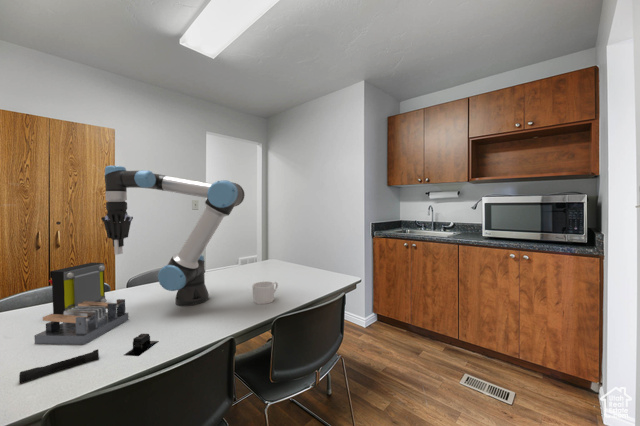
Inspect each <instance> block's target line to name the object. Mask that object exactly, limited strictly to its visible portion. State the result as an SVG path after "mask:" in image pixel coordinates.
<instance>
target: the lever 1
mask: <svg viewBox="0 0 640 426" xmlns="http://www.w3.org/2000/svg"><path fill="white" fill-rule="evenodd" d="M76 317H86V316H74V315H61V314H53V313H50V314H47V315H45V316H43V317H42V321H45V322H51V321H54V322H60V323H63V322H67V323H76ZM87 318H88V317H86V319H87Z"/></svg>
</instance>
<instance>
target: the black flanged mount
mask: <svg viewBox="0 0 640 426" xmlns="http://www.w3.org/2000/svg"><path fill="white" fill-rule="evenodd" d="M159 342H160V341H159V340H151V335H150V333H140V334H138V336H136V337H134V338H133V341H132V348H131V349H130V350H129V351H127V352H126V353H125V354H123V356H128V357H129V356H130V357H139V356H141V355H143V354H144V353H145V352H147V351H148V350H150V349H151V348H153V346H155V345H157V344H158V343H159Z"/></svg>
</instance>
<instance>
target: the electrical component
mask: <svg viewBox="0 0 640 426" xmlns="http://www.w3.org/2000/svg"><path fill="white" fill-rule="evenodd" d="M105 269H106V266H105V264H104V262H87V263H84V264H82V263H81V264H78V265H73V266H69V267H64V268H60V269H59V268H58V269H55V270H50V271H49V277H50V279H49V280H48V282H49V283H50V284H51V288H52V290H51V291H52V311H53V313H52V314H61V315H64V311H68V309H71V308H75V307H76V306H78V304H79V303H81V302H84V301H91V302H105V303H107V299H106V296H105V295H106V294H105Z"/></svg>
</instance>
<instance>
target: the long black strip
mask: <svg viewBox="0 0 640 426" xmlns="http://www.w3.org/2000/svg"><path fill="white" fill-rule="evenodd" d="M99 359H100V354H99V349H95V350H92V351H91V352H89V353H85V354H81V355H77V356H74V357H71V358H67V359H64V360H61V361H57V362H53V363H51V364H48V365H44V366H38V367H35V368H30V369H26V370H22V371H20V372H19V376H18V378H19V379H18V380H19V381H18V382H19V384H23V383H26V382H30V381H32V380H35V379H37V378H38V379H39V378H40V377H42V376H44V375H45V376H46V375H48V374H52V373H55V372H58V371H61V370H64V369H68V368H71V367H74V366H78V365H81V364H84V363H87V362H90V361H95V360H99Z"/></svg>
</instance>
